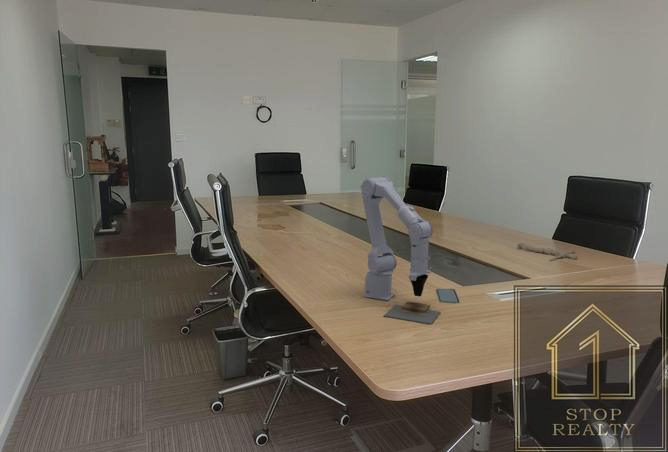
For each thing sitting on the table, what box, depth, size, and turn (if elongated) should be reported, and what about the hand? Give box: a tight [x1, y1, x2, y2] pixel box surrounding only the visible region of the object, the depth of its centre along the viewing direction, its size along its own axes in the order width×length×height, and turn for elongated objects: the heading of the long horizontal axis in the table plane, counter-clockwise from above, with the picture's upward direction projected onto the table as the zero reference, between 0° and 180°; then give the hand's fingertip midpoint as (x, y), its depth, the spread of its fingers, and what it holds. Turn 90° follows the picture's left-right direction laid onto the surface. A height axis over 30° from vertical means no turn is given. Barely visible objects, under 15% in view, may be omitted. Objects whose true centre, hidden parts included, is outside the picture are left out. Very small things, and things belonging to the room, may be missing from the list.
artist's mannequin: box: [516, 242, 578, 262], centre depth 254 cm, size 28×4×30 cm
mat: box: [383, 304, 442, 325], centre depth 166 cm, size 16×12×1 cm
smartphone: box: [435, 288, 461, 304], centre depth 186 cm, size 7×1×15 cm
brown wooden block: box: [401, 301, 431, 315], centre depth 170 cm, size 8×2×6 cm
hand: (417, 295), depth 171 cm, fingers closed
